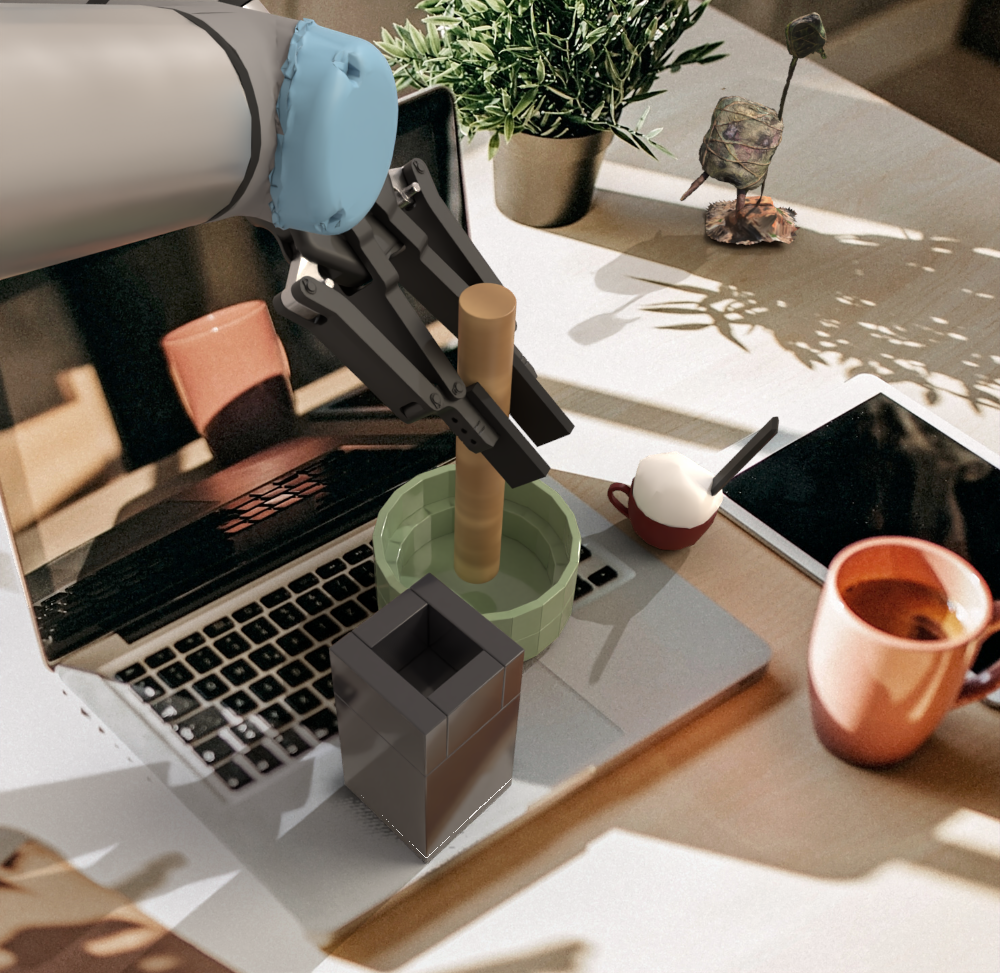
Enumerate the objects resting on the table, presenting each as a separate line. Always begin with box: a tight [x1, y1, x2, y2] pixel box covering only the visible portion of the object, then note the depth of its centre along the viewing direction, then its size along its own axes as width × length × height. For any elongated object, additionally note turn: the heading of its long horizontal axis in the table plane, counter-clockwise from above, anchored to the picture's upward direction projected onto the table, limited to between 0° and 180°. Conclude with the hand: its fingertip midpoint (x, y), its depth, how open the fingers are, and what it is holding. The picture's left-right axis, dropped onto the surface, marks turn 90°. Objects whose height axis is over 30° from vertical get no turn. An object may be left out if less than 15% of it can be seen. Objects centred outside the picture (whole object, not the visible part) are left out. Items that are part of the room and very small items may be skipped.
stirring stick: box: [454, 283, 518, 584], centre depth 67 cm, size 3×3×22 cm
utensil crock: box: [328, 573, 525, 865], centre depth 63 cm, size 7×7×14 cm
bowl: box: [371, 463, 582, 662], centre depth 75 cm, size 13×13×6 cm
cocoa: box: [606, 416, 780, 551], centre depth 78 cm, size 10×6×12 cm, turn 54°
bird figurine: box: [679, 11, 828, 246], centre depth 101 cm, size 8×11×20 cm
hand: (543, 456), depth 66 cm, fingers closed on stirring stick, 3 cm apart
